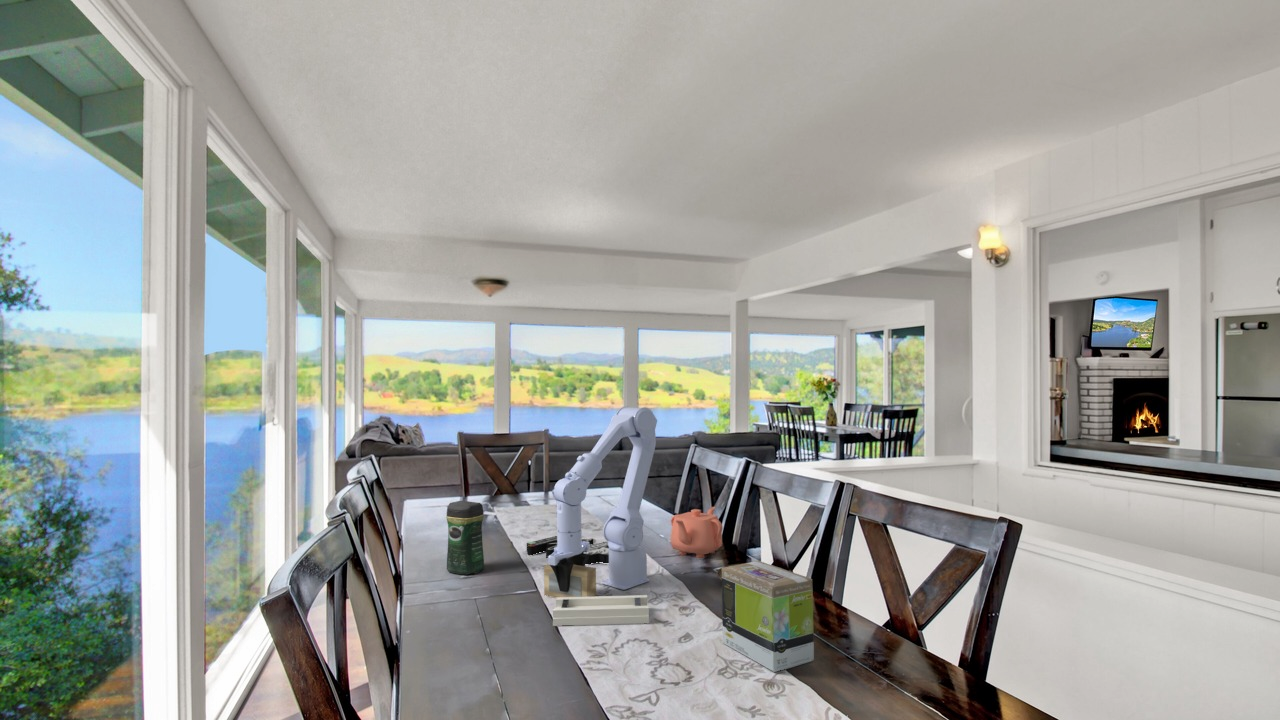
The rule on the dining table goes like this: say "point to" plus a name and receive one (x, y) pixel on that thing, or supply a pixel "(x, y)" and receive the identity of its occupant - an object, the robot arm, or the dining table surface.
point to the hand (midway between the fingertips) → (569, 588)
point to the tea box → (768, 614)
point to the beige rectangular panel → (571, 582)
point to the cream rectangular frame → (601, 610)
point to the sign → (595, 553)
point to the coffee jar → (465, 537)
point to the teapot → (696, 533)
